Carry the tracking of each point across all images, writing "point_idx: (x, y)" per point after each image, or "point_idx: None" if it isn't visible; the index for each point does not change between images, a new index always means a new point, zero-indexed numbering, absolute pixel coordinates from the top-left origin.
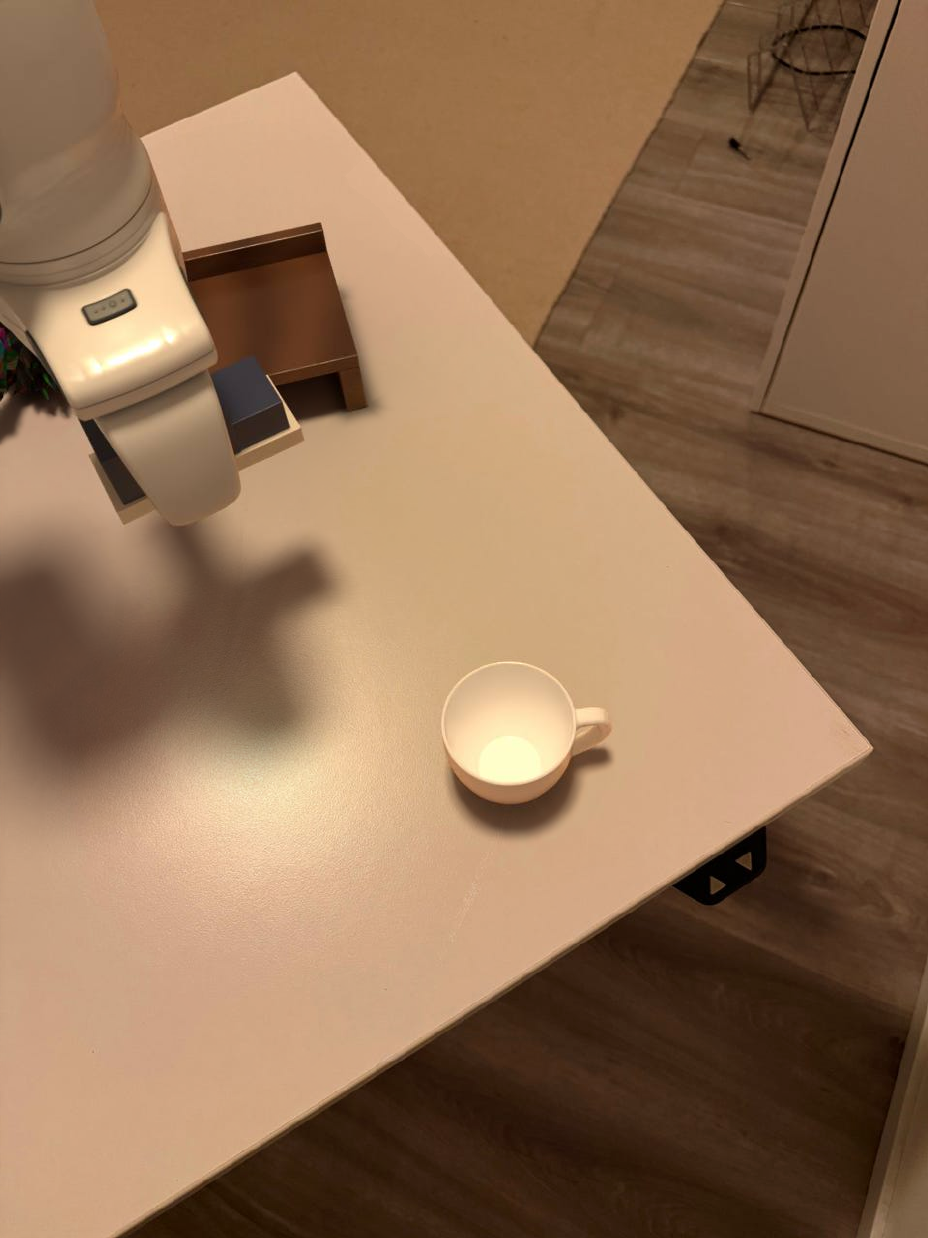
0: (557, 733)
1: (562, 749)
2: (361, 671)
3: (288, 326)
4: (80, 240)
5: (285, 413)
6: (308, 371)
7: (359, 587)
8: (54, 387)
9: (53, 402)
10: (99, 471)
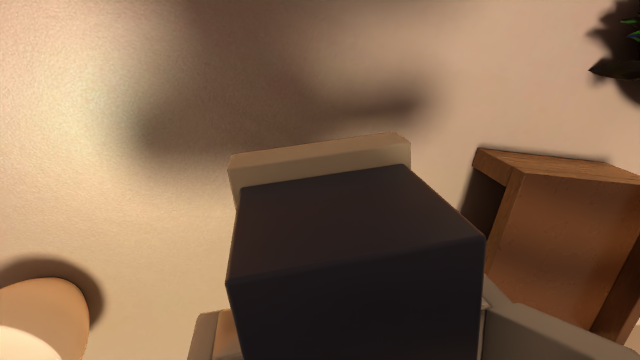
0: (47, 355)
1: (28, 356)
2: (181, 219)
3: (534, 288)
4: None
5: None
6: None
7: None
8: (629, 36)
9: (614, 22)
10: (355, 155)
